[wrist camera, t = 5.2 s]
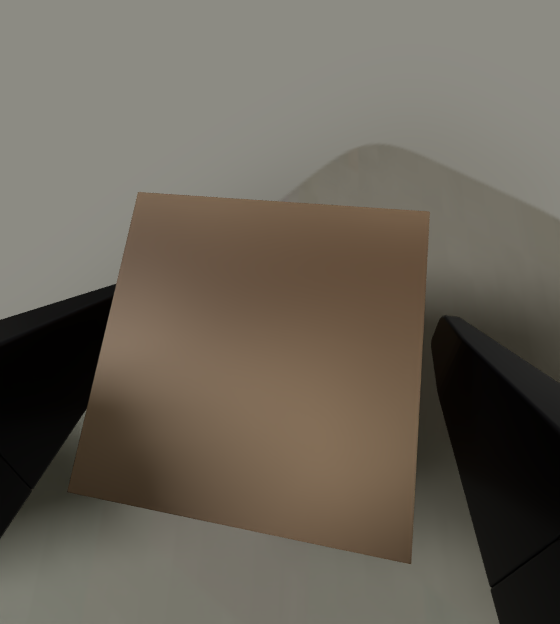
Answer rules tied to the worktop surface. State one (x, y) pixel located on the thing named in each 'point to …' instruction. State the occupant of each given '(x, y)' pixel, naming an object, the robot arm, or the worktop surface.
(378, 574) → the worktop surface
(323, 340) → the tan rectangular block
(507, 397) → the robot arm
